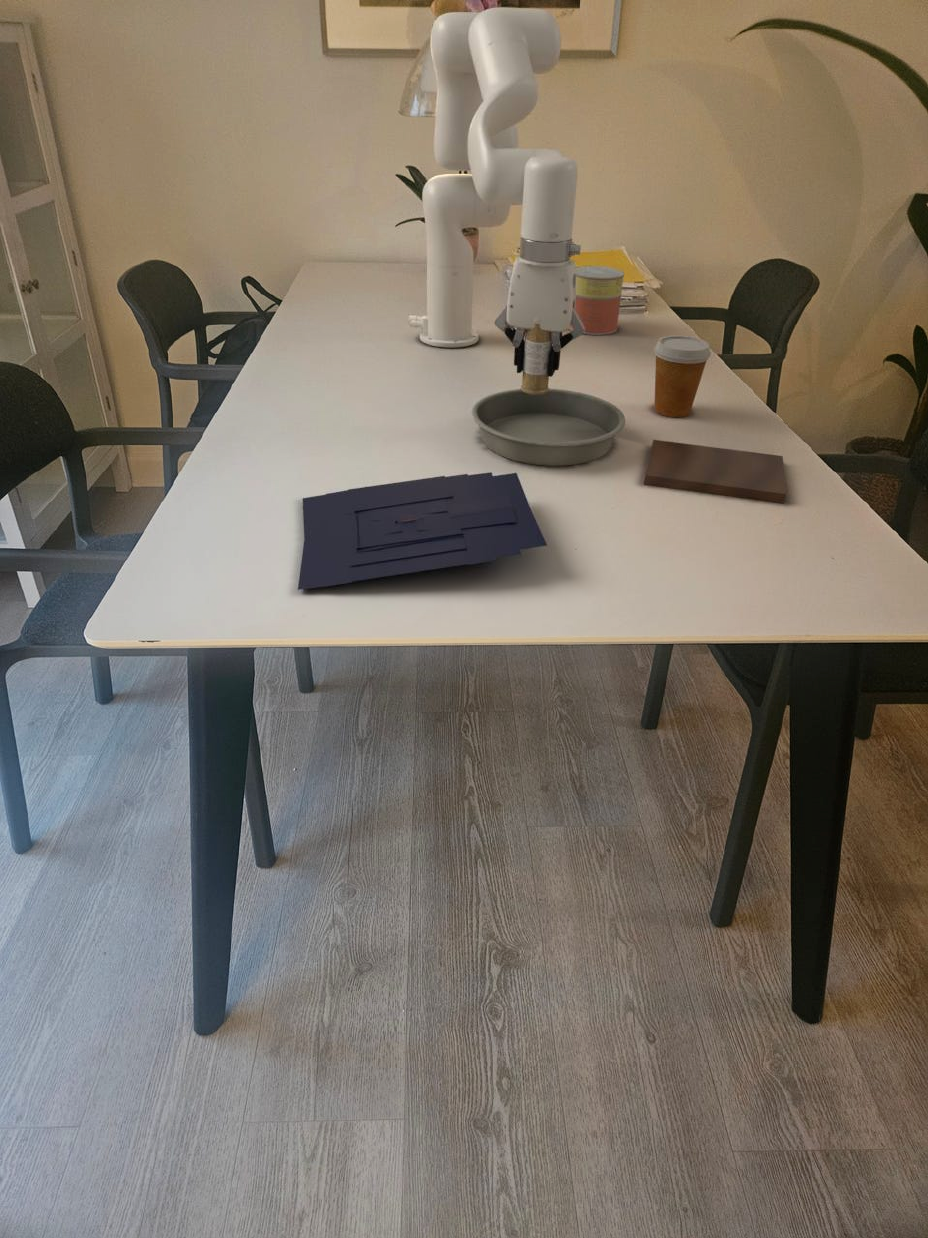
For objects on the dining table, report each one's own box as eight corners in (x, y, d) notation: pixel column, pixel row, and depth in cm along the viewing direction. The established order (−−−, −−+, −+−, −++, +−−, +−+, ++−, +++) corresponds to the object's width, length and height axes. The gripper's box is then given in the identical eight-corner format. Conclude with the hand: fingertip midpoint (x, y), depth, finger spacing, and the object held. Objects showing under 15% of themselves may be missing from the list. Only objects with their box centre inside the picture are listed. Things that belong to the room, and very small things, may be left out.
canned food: (625, 326, 195) (632, 270, 189) (604, 337, 187) (611, 280, 181) (580, 317, 200) (586, 263, 193) (558, 328, 192) (563, 272, 185)
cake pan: (633, 424, 146) (637, 398, 144) (605, 482, 127) (609, 453, 125) (496, 403, 153) (497, 378, 150) (449, 455, 133) (450, 428, 131)
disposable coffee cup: (704, 407, 154) (717, 339, 147) (692, 424, 147) (705, 354, 140) (652, 397, 157) (662, 331, 150) (638, 414, 150) (649, 345, 143)
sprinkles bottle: (535, 384, 142) (541, 300, 134) (554, 392, 139) (562, 306, 131) (514, 389, 139) (520, 304, 132) (533, 398, 136) (540, 311, 129)
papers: (551, 572, 103) (550, 546, 101) (302, 610, 101) (296, 584, 99) (515, 484, 123) (513, 461, 120) (306, 514, 121) (301, 491, 119)
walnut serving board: (643, 484, 127) (645, 474, 126) (651, 448, 138) (653, 439, 137) (783, 503, 123) (786, 494, 122) (780, 464, 134) (782, 455, 133)
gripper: (605, 250, 128) (591, 370, 139) (495, 241, 132) (490, 359, 142) (598, 260, 122) (584, 385, 133) (483, 250, 126) (479, 373, 136)
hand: (536, 370), depth 137 cm, fingers closed on sprinkles bottle, 4 cm apart
